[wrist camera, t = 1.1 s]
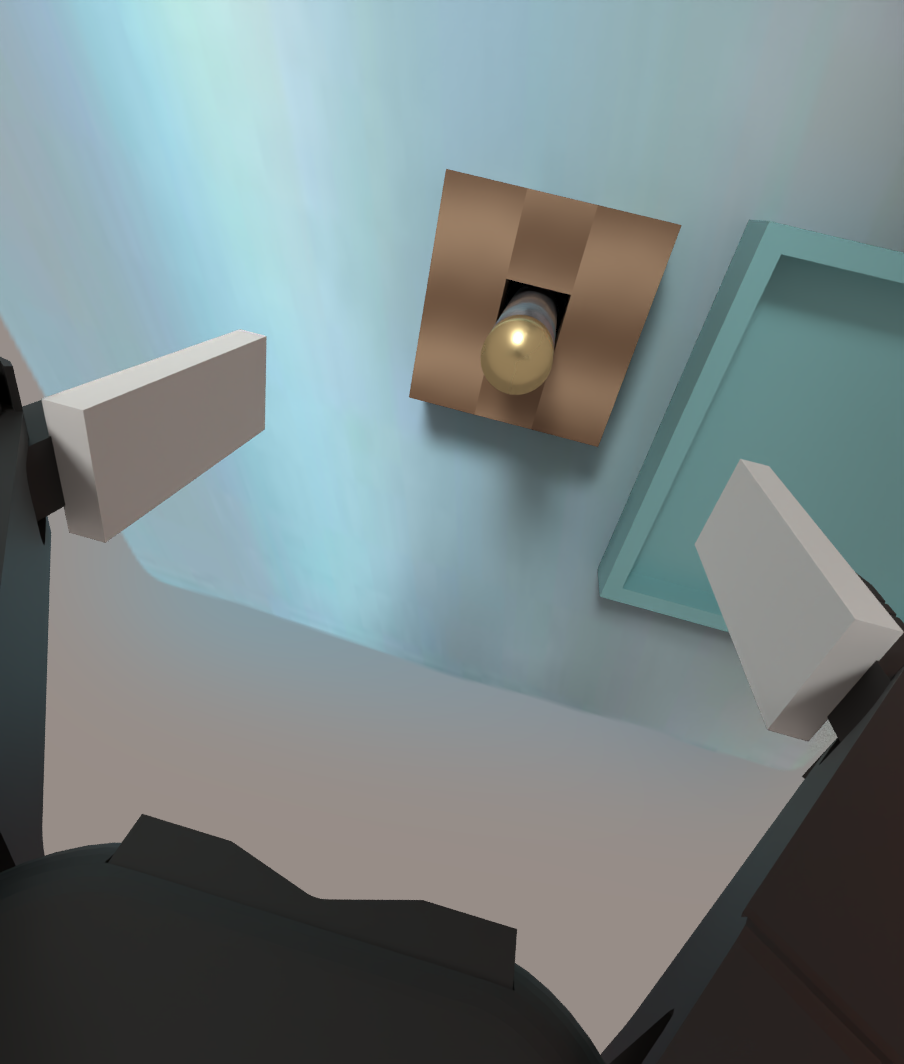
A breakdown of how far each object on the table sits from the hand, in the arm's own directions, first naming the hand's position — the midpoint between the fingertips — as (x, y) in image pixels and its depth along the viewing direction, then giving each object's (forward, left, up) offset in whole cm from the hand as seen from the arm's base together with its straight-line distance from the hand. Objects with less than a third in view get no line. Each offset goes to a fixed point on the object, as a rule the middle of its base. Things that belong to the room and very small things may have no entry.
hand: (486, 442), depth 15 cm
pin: (0, 0, -22) cm, 22 cm away
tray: (+5, +22, -22) cm, 32 cm away
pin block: (0, 0, -22) cm, 22 cm away
